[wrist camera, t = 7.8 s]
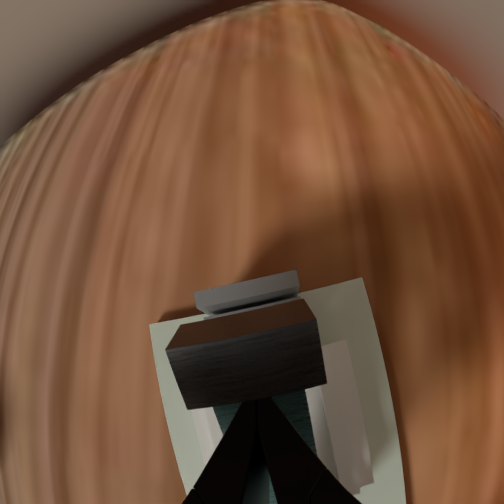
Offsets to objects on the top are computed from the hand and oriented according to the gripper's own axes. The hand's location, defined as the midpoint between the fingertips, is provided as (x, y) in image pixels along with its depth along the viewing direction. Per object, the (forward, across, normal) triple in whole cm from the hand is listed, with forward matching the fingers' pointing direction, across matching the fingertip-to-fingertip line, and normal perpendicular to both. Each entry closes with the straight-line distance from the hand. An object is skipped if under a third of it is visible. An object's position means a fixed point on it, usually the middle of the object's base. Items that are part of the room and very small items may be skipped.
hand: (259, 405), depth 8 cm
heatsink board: (+3, 0, -12) cm, 12 cm away
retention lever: (-3, 0, -10) cm, 11 cm away
